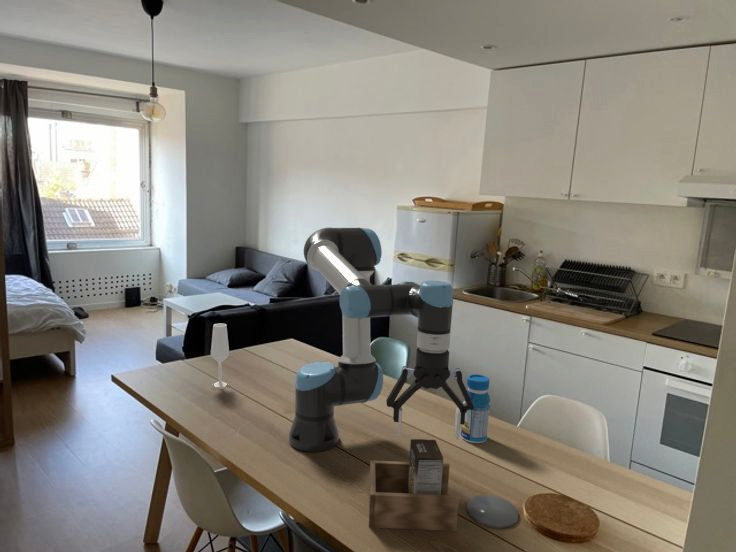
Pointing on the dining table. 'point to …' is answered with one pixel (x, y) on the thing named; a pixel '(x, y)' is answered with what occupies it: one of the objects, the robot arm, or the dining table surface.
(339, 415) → the dining table surface
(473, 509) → the slate coaster
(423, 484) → the coffee box
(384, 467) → the walnut u-shaped stand
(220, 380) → the champagne flute
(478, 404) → the beverage bottle
